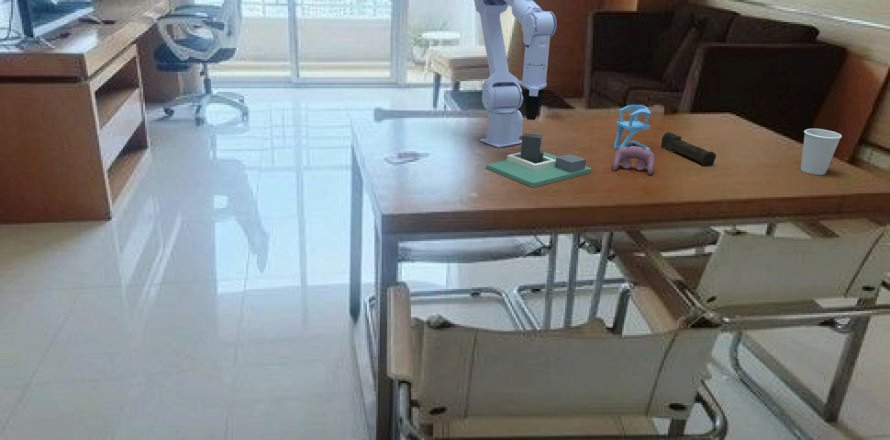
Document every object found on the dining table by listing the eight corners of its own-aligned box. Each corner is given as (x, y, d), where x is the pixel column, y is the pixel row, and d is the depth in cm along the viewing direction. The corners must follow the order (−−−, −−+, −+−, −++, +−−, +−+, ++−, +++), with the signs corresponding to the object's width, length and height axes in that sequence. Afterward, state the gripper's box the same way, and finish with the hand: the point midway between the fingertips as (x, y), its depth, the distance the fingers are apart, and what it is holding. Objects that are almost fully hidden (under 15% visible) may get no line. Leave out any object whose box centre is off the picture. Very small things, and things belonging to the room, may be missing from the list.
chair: (608, 146, 184) (613, 103, 179) (634, 144, 187) (640, 101, 182) (623, 154, 177) (629, 109, 173) (650, 152, 180) (657, 108, 175)
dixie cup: (836, 171, 169) (846, 133, 165) (825, 178, 164) (836, 139, 160) (801, 164, 174) (810, 126, 171) (790, 170, 169) (799, 132, 165)
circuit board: (543, 155, 173) (545, 142, 172) (591, 172, 162) (593, 158, 160) (486, 168, 162) (486, 154, 160) (532, 187, 150) (534, 172, 149)
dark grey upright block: (518, 160, 165) (520, 132, 163) (542, 162, 164) (545, 135, 161) (516, 163, 163) (518, 135, 160) (541, 166, 162) (544, 138, 159)
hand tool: (715, 166, 170) (718, 149, 169) (702, 167, 169) (705, 150, 167) (669, 146, 187) (672, 130, 185) (657, 147, 186) (660, 130, 184)
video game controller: (652, 178, 164) (656, 150, 165) (653, 175, 160) (657, 146, 160) (611, 172, 167) (616, 145, 168) (611, 169, 163) (615, 141, 163)
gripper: (519, 58, 168) (515, 111, 173) (518, 68, 154) (514, 125, 159) (547, 59, 167) (542, 113, 172) (549, 69, 154) (543, 127, 159)
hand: (530, 119), depth 166 cm, fingers closed
